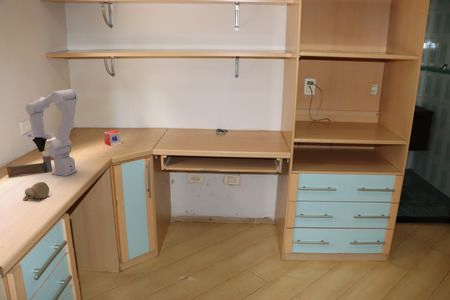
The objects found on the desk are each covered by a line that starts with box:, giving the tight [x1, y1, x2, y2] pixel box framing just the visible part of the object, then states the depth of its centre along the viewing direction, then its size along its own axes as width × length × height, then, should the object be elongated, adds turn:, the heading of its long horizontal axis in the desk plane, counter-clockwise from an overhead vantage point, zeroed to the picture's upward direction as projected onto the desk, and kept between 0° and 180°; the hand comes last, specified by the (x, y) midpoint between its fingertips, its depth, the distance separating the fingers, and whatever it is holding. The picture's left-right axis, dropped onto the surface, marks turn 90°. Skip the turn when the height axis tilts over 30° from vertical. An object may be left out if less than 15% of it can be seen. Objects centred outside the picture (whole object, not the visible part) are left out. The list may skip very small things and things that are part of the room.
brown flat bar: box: [6, 161, 48, 178], centre depth 183 cm, size 1×17×5 cm, turn 113°
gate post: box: [41, 156, 53, 173], centre depth 187 cm, size 3×3×8 cm
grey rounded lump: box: [22, 181, 50, 201], centre depth 156 cm, size 8×10×10 cm
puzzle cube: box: [103, 129, 123, 147], centre depth 237 cm, size 8×8×8 cm
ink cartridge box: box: [41, 132, 57, 161], centre depth 206 cm, size 9×5×15 cm, turn 141°
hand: (41, 151), depth 190 cm, fingers closed
